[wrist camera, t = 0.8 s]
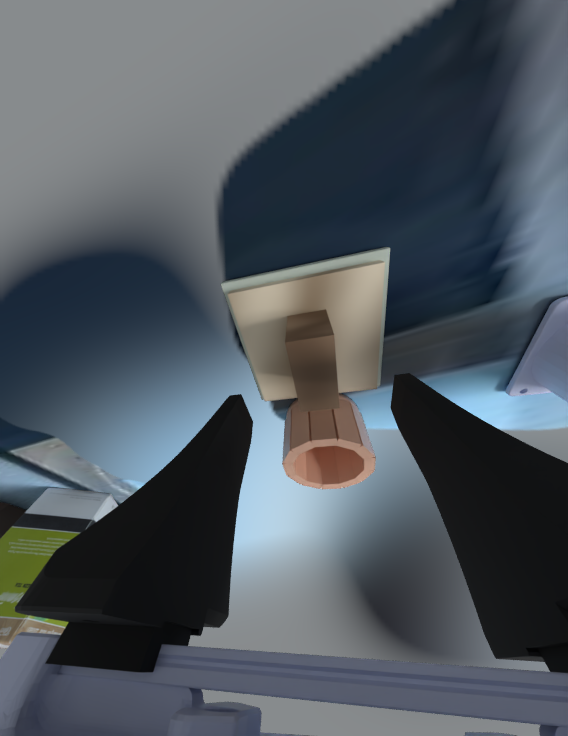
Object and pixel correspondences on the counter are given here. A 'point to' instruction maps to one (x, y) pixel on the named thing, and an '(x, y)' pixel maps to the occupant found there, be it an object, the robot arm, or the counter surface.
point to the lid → (314, 333)
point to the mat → (313, 268)
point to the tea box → (41, 551)
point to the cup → (327, 446)
